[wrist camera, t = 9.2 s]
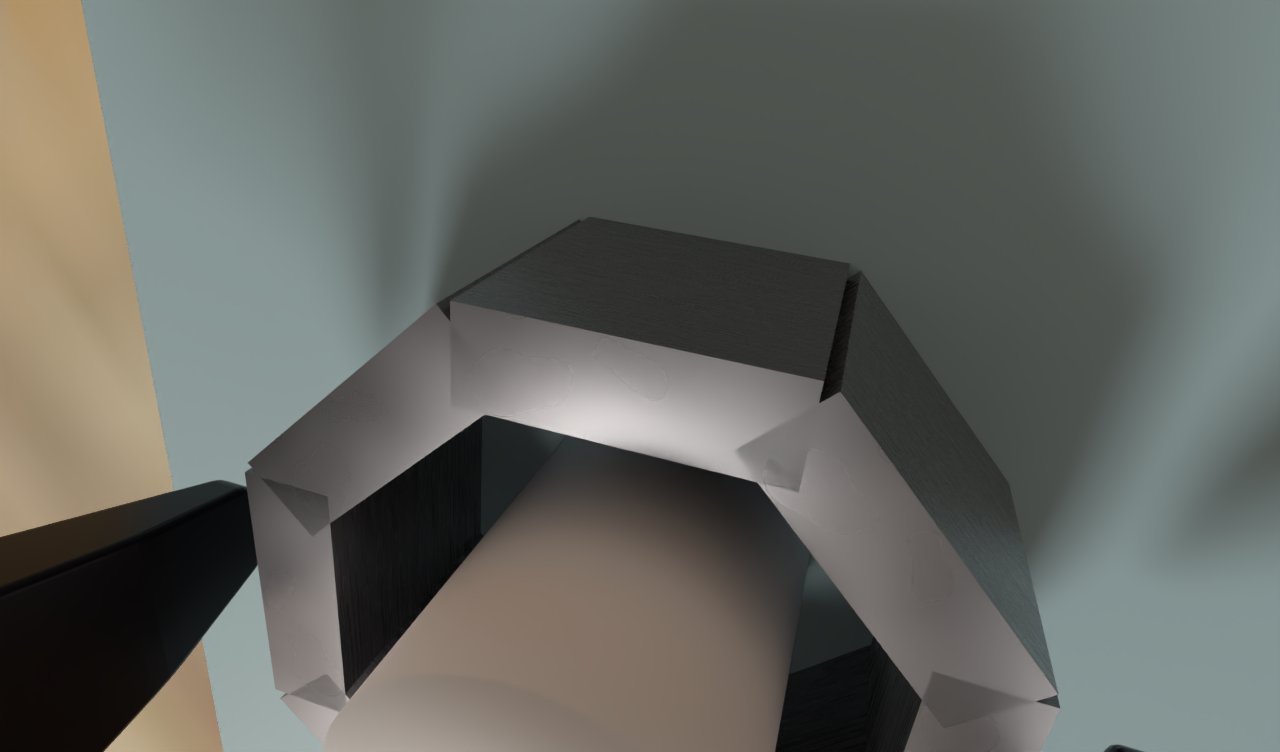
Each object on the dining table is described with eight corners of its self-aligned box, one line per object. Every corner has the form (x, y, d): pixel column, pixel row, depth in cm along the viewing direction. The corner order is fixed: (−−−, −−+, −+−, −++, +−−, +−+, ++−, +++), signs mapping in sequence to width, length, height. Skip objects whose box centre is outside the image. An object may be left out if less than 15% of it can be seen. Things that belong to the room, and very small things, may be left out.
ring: (897, 801, 10) (895, 1060, 8) (425, 646, 12) (293, 818, 9) (1080, 304, 7) (1178, 456, 5) (414, 184, 9) (213, 249, 6)
